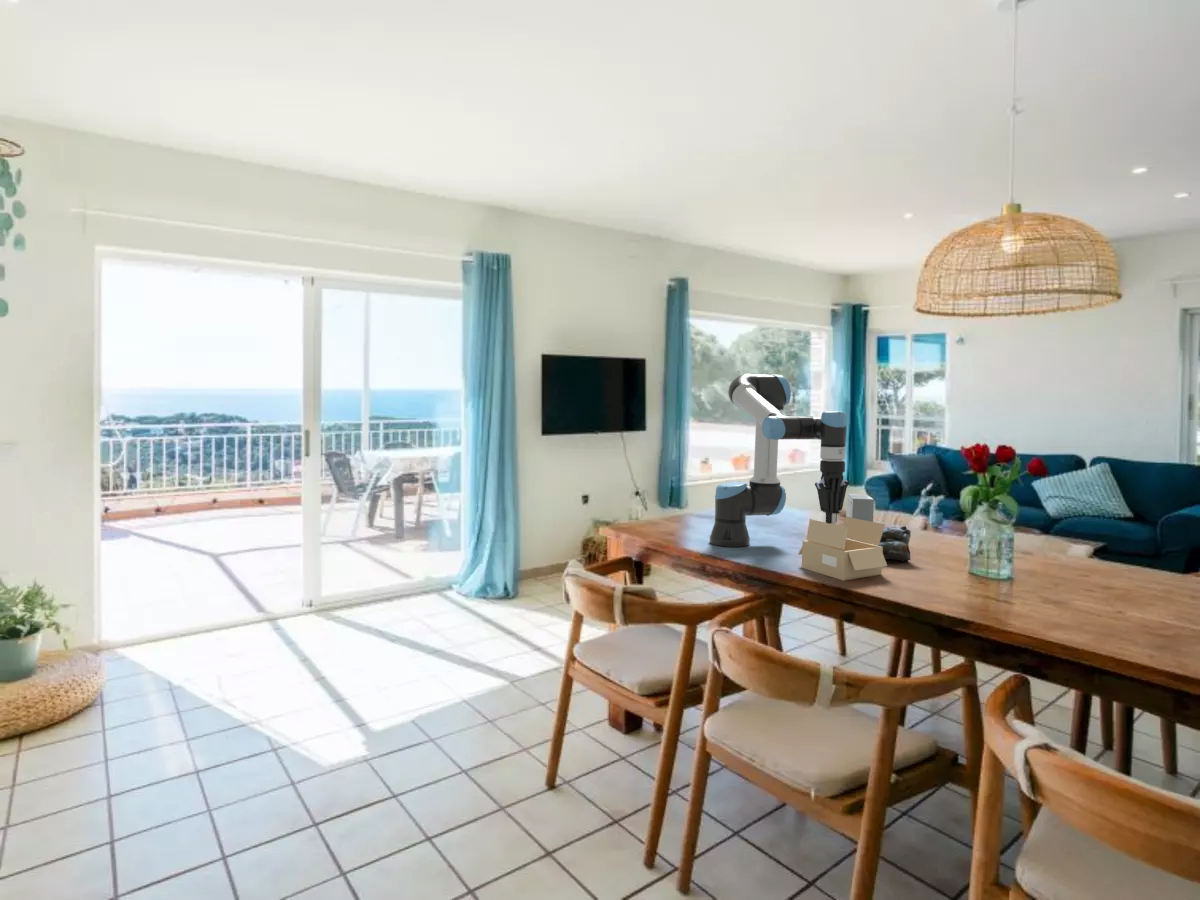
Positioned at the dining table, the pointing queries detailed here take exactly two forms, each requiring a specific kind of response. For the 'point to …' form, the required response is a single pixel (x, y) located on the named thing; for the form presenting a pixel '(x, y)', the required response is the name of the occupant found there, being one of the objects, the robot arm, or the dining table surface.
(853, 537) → the flap
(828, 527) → the flap
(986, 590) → the dining table surface
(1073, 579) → the dining table surface
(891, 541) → the dark grey backpack
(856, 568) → the carton
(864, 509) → the hard drive box
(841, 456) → the robot arm
